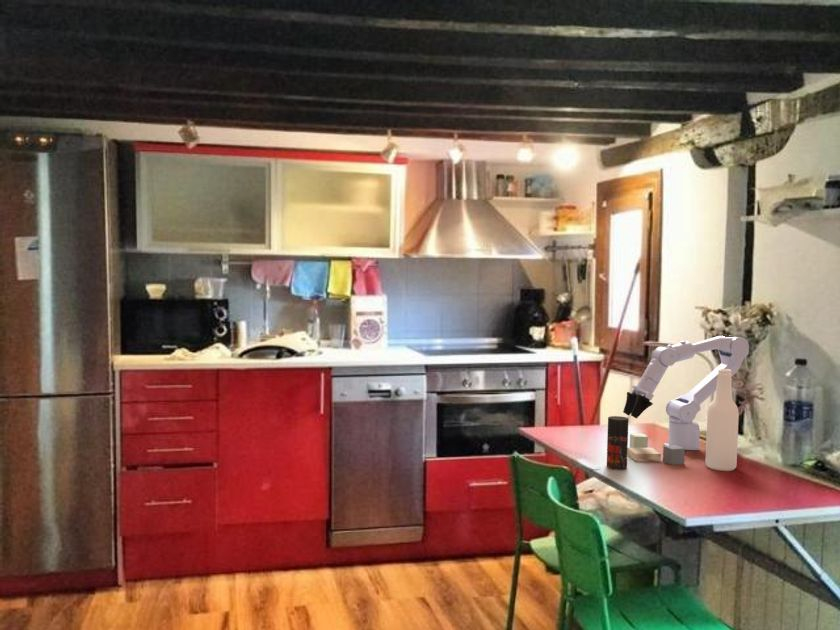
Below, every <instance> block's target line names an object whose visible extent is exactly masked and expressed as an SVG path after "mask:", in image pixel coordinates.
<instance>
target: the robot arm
mask: <svg viewBox="0 0 840 630" xmlns="http://www.w3.org/2000/svg"><path fill="white" fill-rule="evenodd" d="M713 350H717V351H718V355H719V358H720V364H718V365H717V367H716V368H715V369H713V370H712V371H711V372H710V373H709V374H707V376H705V377H704V378H703V379H702V380H701V381H700V382H699V383H697V384H696V385H695V386H694V387H693V388H692V389H690V391H688V392H687V393H684V394H681V395H679V396H677V397H676V398H675V399H671V400H669V401H668V402H667V404H666V406H665V411H666V414H667V416H668V443H667V442H664V443H663V446H669V445H677V446H680V447H682V448H685V451H700V450H701V448H700V435H701V433H700V432H701V431H700V425H699V422H697V421H694V420H695V418H696V417H697V415H698V413H699V412H700V411H701V405H702V403H704V402H705V401H706V400H707V399H709V398H710V397H711V395H713V394H714V393H716V387H717V379H718V375H717V373H718V369H730V370H731V371H732V372H731V374H732V376H731V378H732V377H733V376H734V375H735V374H737V373H738V372H739V370H740V368H741V366H742V363H743V362H744V359H745V358H746V357H747V356H748V355H749V353H750V345H749V342H748V340H747V339H746V338H745V337H742V336H739V337H738V336H734V337H725V336H723V335H716V336H714V337H710V338H706V339H704V340H701V341H698V342H695V343H691V342H690V341H686V340H681V341H679V343H676V344H667V346H666V347H664V346H659V347H656V348H655V349H654V350H652V352H651V359H650V361H649V363H648V364H647V367H646V369H645V370H644V372H643V373H642V376H641V377H640V379H639V381H638V383H637V384H636V385H632V386H631V387H632V390H631V391H627V392H626V401H625V405H624V408H623V411H622V412H623V413H624V414H626V415H627V416H631V417H633V418H634V419H636V420H637V419H638V418H639V417H640V416H641V414H643V413H644V411H645V410H647V409H649V407H651V406H653V405H654V403H653V402H652V399H653V398H654V397H655V395H654V392H655V390H656V388H657V387H658V386H659V384H660V383H661V380H662V378H663V377H664V375H665V373H666V371H667V369H668V368H669V367H673V365H674V364H676V363H678V362H682V361H686V360H690V359H693V358H694V357H695V355H696V354H699V353H704V352H708V351H713ZM726 353H728V354H732V355H727V354H726Z"/></svg>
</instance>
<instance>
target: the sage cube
mask: <svg viewBox="0 0 840 630" xmlns="http://www.w3.org/2000/svg"><path fill="white" fill-rule="evenodd" d="M648 443H649V436H648V435H646V434H644V433H630V434H629V448H649V447H648V446H649V445H648Z"/></svg>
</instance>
